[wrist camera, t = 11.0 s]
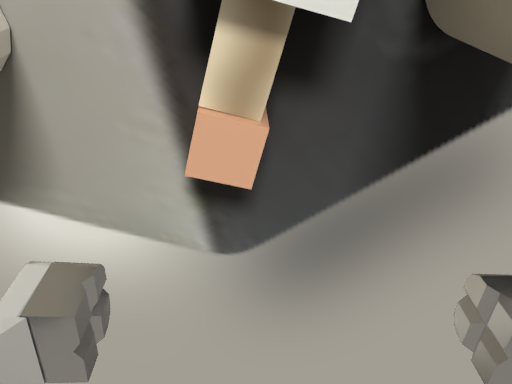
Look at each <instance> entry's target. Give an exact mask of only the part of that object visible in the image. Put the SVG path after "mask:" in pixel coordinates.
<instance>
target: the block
mask: <svg viewBox="0 0 512 384" xmlns="http://www.w3.org/2000/svg"><path fill="white" fill-rule="evenodd" d="M268 132H269V123H268V117H267V112H266V106H265V110H264V113H263V116H262V120H261V122H259V121H255V120H251V119H248V118H244V117H240V116H236V115H232V114H228V113H224V112H220V111H216V110H212V109H208V108H204V107H201V106H199V107H198V112H197V117H196V122H195V127H194V132H193V136H192V141H191V146H190V151H189V156H188V161H187V166H186V171H185V175H184V176H189V177H193V178H198V179H203V180H208V181H213V182H217V183H222V184H227V185H232V186H237V187H242V188H246V189H252V185H253V182H254V179H255V175H256V172H257V169H258V165H259V162H260V159H261V155H262V152H263V148H264V145H265V142H266V138H267V135H268Z"/></svg>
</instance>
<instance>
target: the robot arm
mask: <svg viewBox="0 0 512 384" xmlns="http://www.w3.org/2000/svg"><path fill="white" fill-rule="evenodd" d="M105 281H106V274H105V268H104V266H103V265H101V264H88V263H68V262H67V263H66V262H38V261H31V262H29V263H27V264H26V265H24V267H23V268H22V270H21V271H20V273H19V274H18V276H17V277H16V278H15V280H14V281H13V283H12V284H11V286H10V287H9V289H8V290H7V292H6V293H5V295H4V296H3V297H2V299H1V300H0V384H45V383H62V382H63V383H64V382H88V381H89V378H90V376H91V373H92V370H93V367H94V365H95V362H96V359H97V356H98V351H97V346H96V344H97V343H98V342H99V341H100V340H102V339H103V338H104V337H105V334H106V331H107V328H108V322H109V316H110V299H109V294H108V293H107V292H106V291H105V290H104V289H103V286H104V284H105ZM464 289H465V291H466V293H467V296H465V297H464V298H463V299H461V300H460V301H459V302H458V303H457V306H456V309H455V312H454V325H455V329H456V333H457V335H458V337H459V339H460V341H461V343H462V344H463V345H464V346H466V347H467V348H468V349H470V350H471V351H472V352H473V356H472V360H471V361H472V363H473V364H474V366H475V368H476V370H477V372H478V374H479V375H480V377H481V379H482V381H483V383H484V384H512V275H498V274H472V275H470V276H469V278H467V280H466V283H465V285H464Z"/></svg>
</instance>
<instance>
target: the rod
mask: <svg viewBox="0 0 512 384" xmlns="http://www.w3.org/2000/svg"><path fill="white" fill-rule="evenodd" d="M295 8H296V7H295V6H291V5H288V4H284V3H281V2H277V1H274V0H222V3H221V7H220V12H219V16H218V20H217V25H216V29H215V34H214V38H213V43H212V47H211V52H210V56H209V61H208V65H207V70H206V74H205V79H204V83H203V88H202V92H201V97H200V101H199V106H201V107H204V108H208V109H212V110H216V111H220V112H224V113H228V114H232V115H236V116H240V117H244V118H248V119H251V120H255V121H259V122H261V120H262V116H263V113H264V110H265V106H266V103H267V100H268V97H269V93H270V90H271V87H272V83H273V80H274V77H275V74H276V70H277V67H278V64H279V60H280V57H281V54H282V51H283V47H284V44H285V41H286V37H287V34H288V31H289V28H290V24H291V21H292V18H293V14H294V11H295Z"/></svg>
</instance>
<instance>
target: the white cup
mask: <svg viewBox="0 0 512 384" xmlns="http://www.w3.org/2000/svg"><path fill="white" fill-rule="evenodd" d="M10 53H11V41H10V27H9V25H8V23H7V21H6V19H5V17H4V15H3V13H2V11H1V9H0V71H1V70H2V68H3V66H4V64H5V62H6V60H7V58H8V57H9V55H10Z"/></svg>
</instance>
